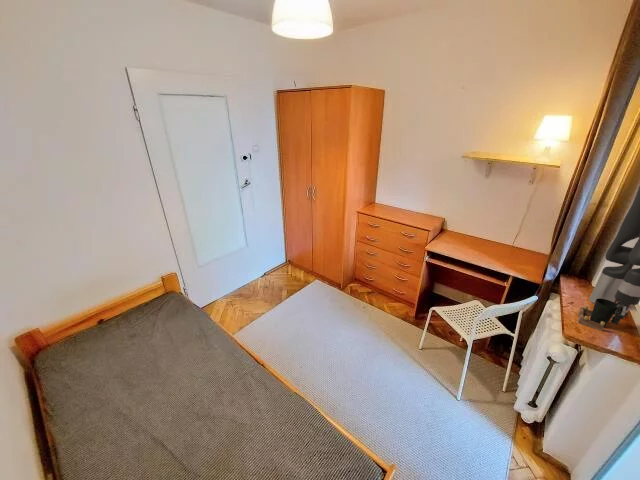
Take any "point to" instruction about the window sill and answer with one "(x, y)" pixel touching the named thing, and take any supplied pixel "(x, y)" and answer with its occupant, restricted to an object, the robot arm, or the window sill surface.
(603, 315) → the cup
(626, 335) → the window sill surface
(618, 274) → the robot arm
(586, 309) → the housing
